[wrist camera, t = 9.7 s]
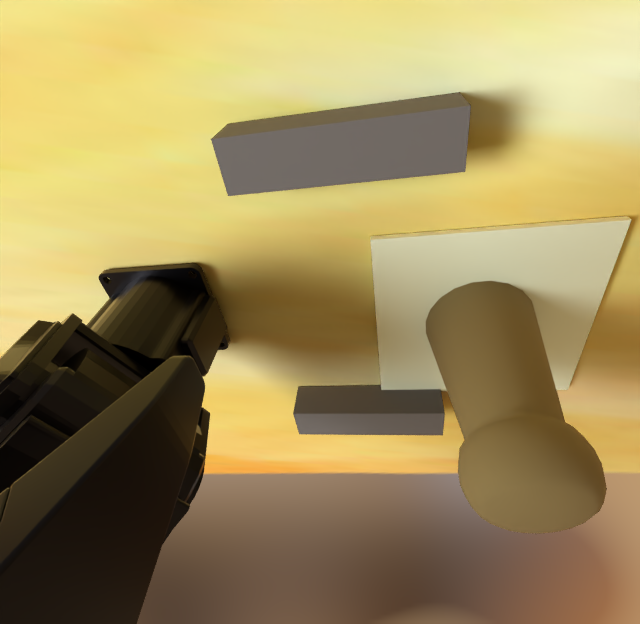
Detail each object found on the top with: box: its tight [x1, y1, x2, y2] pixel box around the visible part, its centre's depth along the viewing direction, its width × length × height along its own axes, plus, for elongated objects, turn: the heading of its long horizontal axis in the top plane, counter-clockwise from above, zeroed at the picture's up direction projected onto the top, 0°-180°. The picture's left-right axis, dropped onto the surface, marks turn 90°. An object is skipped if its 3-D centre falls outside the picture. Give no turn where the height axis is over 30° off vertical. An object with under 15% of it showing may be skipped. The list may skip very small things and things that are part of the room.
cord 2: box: [211, 92, 471, 196], centre depth 17 cm, size 10×2×2 cm, turn 98°
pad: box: [370, 216, 631, 391], centre depth 23 cm, size 12×12×1 cm
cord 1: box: [293, 386, 445, 435], centre depth 28 cm, size 10×2×2 cm, turn 98°
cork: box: [426, 281, 607, 533], centre depth 19 cm, size 6×6×11 cm
